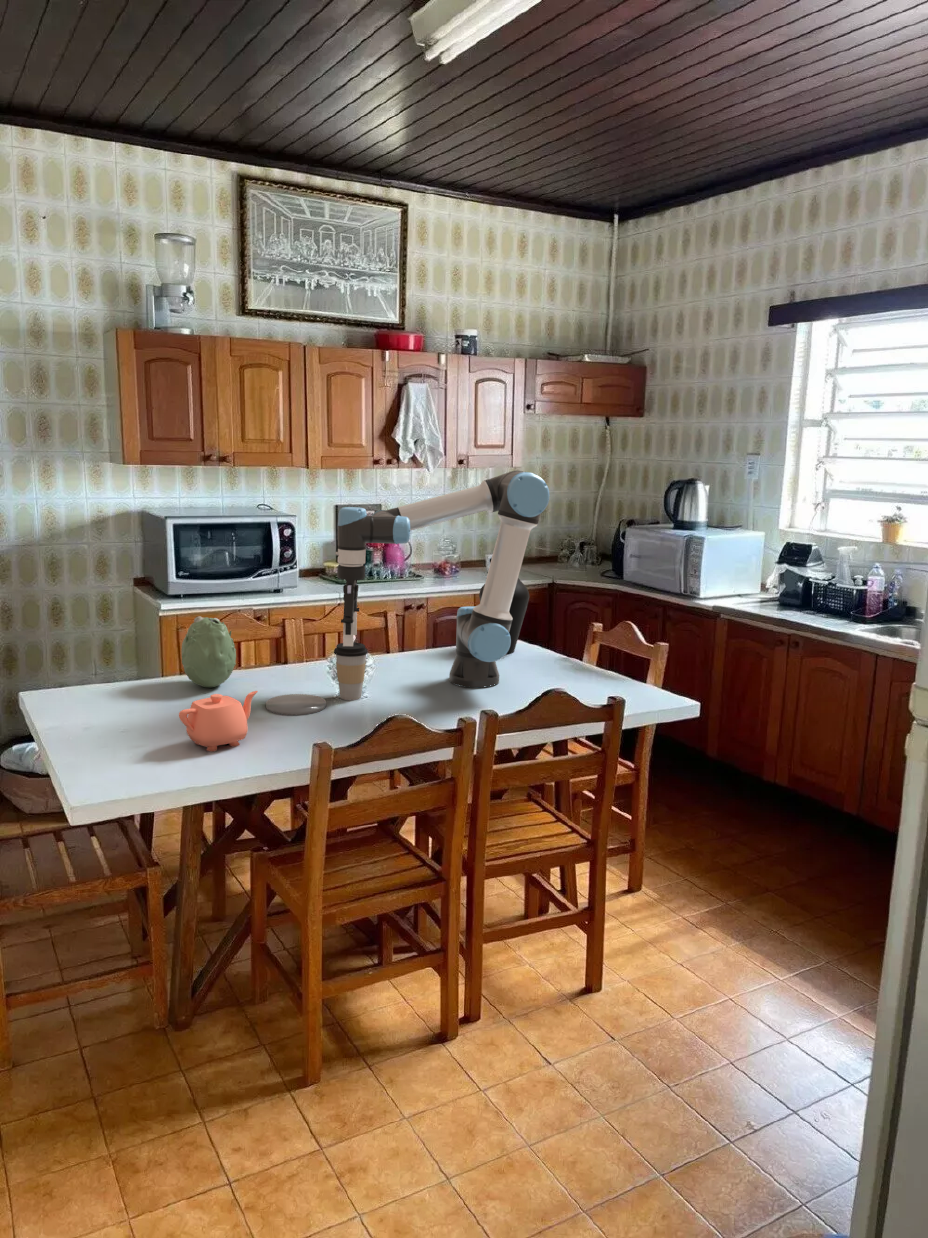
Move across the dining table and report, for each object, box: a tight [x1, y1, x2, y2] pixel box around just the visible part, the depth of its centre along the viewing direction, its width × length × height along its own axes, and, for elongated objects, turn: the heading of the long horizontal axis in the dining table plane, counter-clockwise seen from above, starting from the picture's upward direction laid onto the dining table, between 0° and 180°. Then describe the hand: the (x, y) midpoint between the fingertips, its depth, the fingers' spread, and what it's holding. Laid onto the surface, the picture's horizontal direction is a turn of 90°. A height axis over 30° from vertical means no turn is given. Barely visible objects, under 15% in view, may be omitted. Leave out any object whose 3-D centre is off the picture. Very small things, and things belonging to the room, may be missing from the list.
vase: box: [478, 577, 530, 655], centre depth 313 cm, size 17×17×35 cm
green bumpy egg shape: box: [181, 615, 237, 688], centre depth 262 cm, size 16×19×20 cm
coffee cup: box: [333, 641, 369, 701], centre depth 256 cm, size 9×9×15 cm
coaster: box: [265, 693, 327, 716], centre depth 248 cm, size 16×16×1 cm
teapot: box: [178, 690, 258, 752], centre depth 217 cm, size 20×12×12 cm, turn 132°
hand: (350, 640), depth 254 cm, fingers open, 13 cm apart
